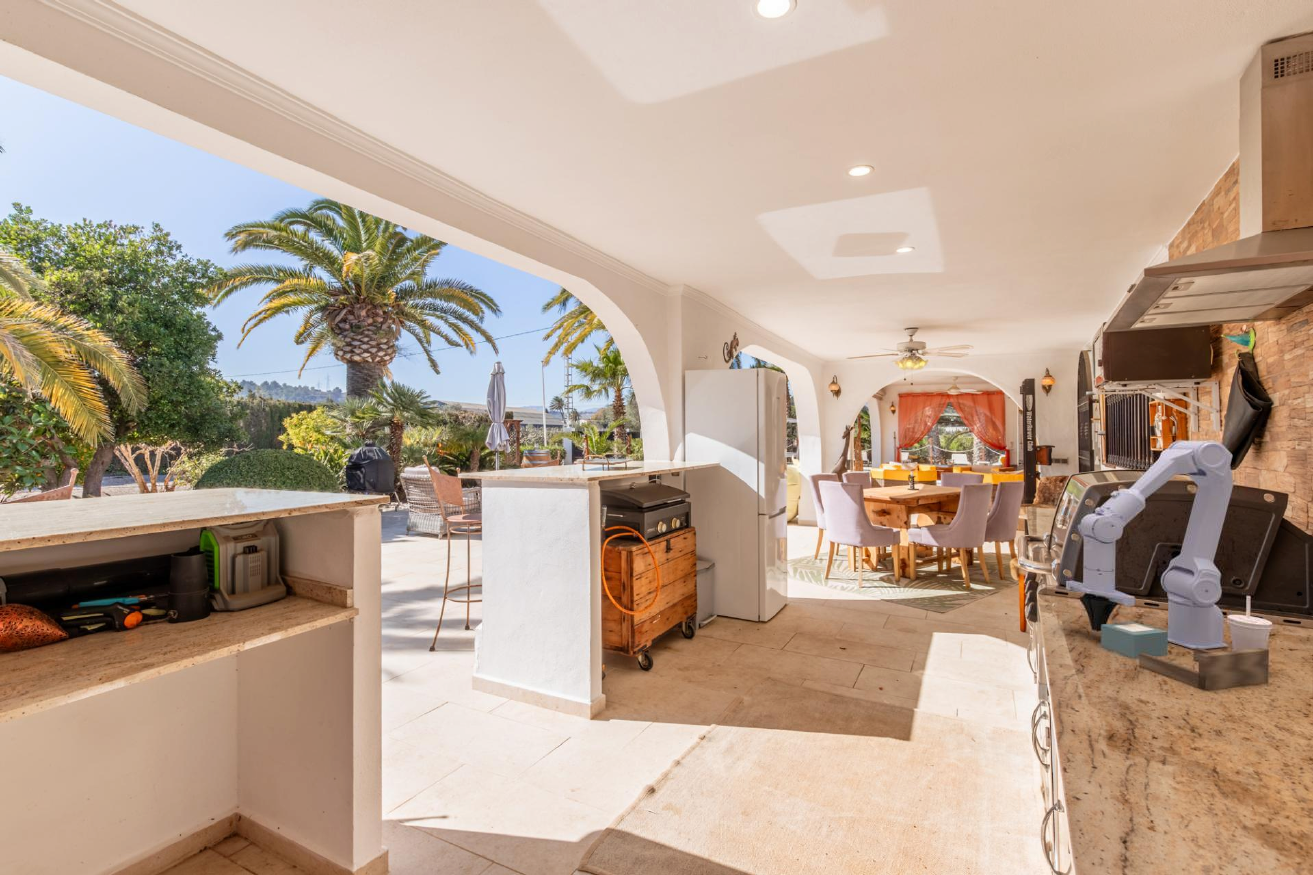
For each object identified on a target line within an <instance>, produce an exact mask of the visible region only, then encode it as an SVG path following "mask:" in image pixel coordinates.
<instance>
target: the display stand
mask: <svg viewBox="0 0 1313 875" xmlns="http://www.w3.org/2000/svg"><path fill="white" fill-rule="evenodd" d="M1192 657H1193V659H1192V660H1193V661H1194V660H1195V661H1194V662H1197V663H1198V670H1195V669H1191V668H1190V667H1189V668H1188V667H1187V666H1183V665H1180V664H1178V663H1174V662H1173V661H1172V662H1171V661H1169V660H1166V659H1162V658H1160V657H1158V656H1155V657H1154V656H1151V655H1148V654H1145V653H1139V658H1138V667H1140V668H1143V669H1145V670H1148V671H1151V672H1153V671H1154V673H1156V674H1159V675H1162V676H1165V677H1168V678H1170V679H1172V680H1176V681H1179V682H1182V683H1184V684H1187V685H1190V686H1192V687H1194V688H1198V689H1200V690H1203V691H1213V690H1220V689H1221V690H1222V689H1229V688H1237V687H1245V686H1253V685H1260V684H1268V683H1269V671H1270V670H1269V667H1270V666H1269V663H1270V662H1269V661H1270V650H1269V649H1267V648H1266V649H1264V648H1254V649H1245V650H1235V651H1233V650H1227V651H1217V652H1214V651H1210V650H1208V649H1202V648H1198V647H1197V648H1194V649H1193V656H1192Z"/></svg>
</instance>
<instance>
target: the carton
mask: <svg viewBox="0 0 1313 875" xmlns="http://www.w3.org/2000/svg"><path fill="white" fill-rule="evenodd" d="M1168 642H1169V641H1168V630H1163V629H1159V628H1157V627H1153V626H1149V625H1146V624H1143V623H1138V622H1135V621H1127V622H1115V623H1107V624H1103V625H1101V631H1100V648H1102V649H1106V650H1108V649H1109V650H1108V651H1110V652H1114V653H1116V652H1117V653H1116V654H1119V655H1122V656H1124V657H1128V658H1130V659H1133V660H1136V659H1137V660H1139V653H1145V654H1148V655H1151V656H1155V657H1163V656H1162V655H1164V656H1168Z"/></svg>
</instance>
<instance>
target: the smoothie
mask: <svg viewBox="0 0 1313 875" xmlns="http://www.w3.org/2000/svg"><path fill="white" fill-rule="evenodd" d="M1245 604H1246V605H1245V606H1246V609H1245V610H1246V611H1245V615H1243V614H1242V615H1241V614H1229V615H1227V619H1226V622H1228V623H1229V624H1228V625H1229V631H1230V638H1231V645H1232V651H1235V650H1245V649H1254V648H1264V649H1267V647H1268V642H1269V637H1270V631H1271V630H1272V629H1273V628H1274V627H1273V622H1272V621H1270V620H1268V619H1265V618H1261V617H1256V616H1251V596H1250V595H1246V602H1245Z"/></svg>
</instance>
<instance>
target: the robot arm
mask: <svg viewBox="0 0 1313 875" xmlns="http://www.w3.org/2000/svg"><path fill="white" fill-rule="evenodd" d="M1232 459H1233V454H1232V453H1231V452H1230V451H1229V450H1228V449H1227V447H1226V446H1225V445H1223V444H1222V443H1221V442H1218V441H1216V440H1205V441H1200V440H1199V441H1198V440H1195V441H1194V440H1185V439H1183V440H1176V441H1174V442H1172V443H1171V444H1170V445H1169V446H1168V448H1166V449H1164V450H1163V451H1162V452H1160V455H1159V458H1158V459H1157V460H1156V461H1155V462H1154V463H1153V464H1152V465H1151V466H1150V467H1149V468H1148V469H1147V470H1146V471H1145V473H1144V474H1143V475H1142V476H1141V477H1140V478H1138V480H1136V482H1135V483H1133V485H1132V486H1131V487H1129V488H1121V489H1119V490H1113V492H1111V493H1110V496H1111V497H1110V498H1109V499H1108V500H1107V501H1106V502H1104V503H1103V504H1102V505H1101V506H1100V507H1099V506H1098V507H1097V508H1095V509H1094V513H1090V514H1086V515H1085V516H1084V517H1083V518H1081V521H1080V523H1079V524H1078V525H1077V529H1078V532H1079V533H1080V535H1082V537H1083V563H1082V564H1083V565H1082V566H1083V570H1082V571H1083V572H1082V573H1083V577H1082V578H1083V579H1082V582H1079V581H1075V580H1066V581H1065V590H1067V591H1073V592H1077V593H1081V594H1084V595H1082V596H1079V600H1080V602H1081V604H1082V605H1083V608H1084V609H1085V611H1086V613H1087V614H1086V615H1087V617H1088V619H1089V623H1090V627H1091V630H1093V631H1095V632H1101V625H1103V624H1108V621H1109V618H1110V616H1111V614H1112V613H1113V611H1114V609H1116V608H1117V606H1118V604H1122V605H1123V606H1125V607H1133V606H1134V607H1135V605H1136V604H1135V603H1136V597H1135V596H1133V595H1130V594H1127V593H1124V592H1122V591H1120V590H1117V589H1116V541H1117V540H1119V539H1121V537H1122V536H1123V532H1124V527H1126V525H1127V524H1128V523H1129V522H1131V521H1132V520H1133V519H1134V518H1135V517H1136V516H1137V515H1138V514H1139V513H1140V512H1142V511H1143V510H1144V509H1145V508H1146V499H1147V498H1148V497H1150V495H1152V494H1154V493H1155V492H1156V491H1157V490H1158V489H1159V488H1161V487H1162V486H1164V485H1165V484H1166V483H1167V482H1169V481H1170V480H1171V479H1173V478H1174V477H1175V476H1177V475H1184V474H1185V475H1187V476H1189V477H1190V479H1191V480H1192V481H1193V482H1194V483H1195V484H1196V485H1197V489H1196V493H1195V496H1194V500H1193V504H1192V507H1191V513H1190V516H1189V520H1188V523H1187V526H1186V531H1185V534H1184V539H1183V542H1182V547H1181V549H1180V554H1178V555H1177V556H1175V557H1174V558H1172V559H1171V560H1170V562H1169V565H1168V567H1167V568H1166V570H1165V571H1163V573H1162V575H1161V577H1160V584H1161V587H1162V589H1163V590H1164V591H1165V592H1166V593H1167V598H1168V601H1167V602H1168V603H1167V604H1168V608H1167V609H1168V610H1167V632H1168V642H1169V643H1172V644H1176V645H1178V646H1182V647H1185V648H1189V649H1191V650H1194V648H1197V647H1198V648H1202V649H1205V650H1208V649H1217V648H1219V649H1220V648H1227V647H1229V644H1227V643H1224V614H1223V612H1222V610H1221V609H1220V608H1219V606H1218V605H1216V604H1215V603H1217V602H1219V600H1220V599H1221V598H1222V592H1223V591H1222V586H1221V578H1222V574H1221V572H1220V570H1219V569H1218V568H1217V566H1216V565H1215V563H1214V560H1215V556H1216V553H1217V549H1218V545H1219V541H1220V537H1221V533H1222V530H1223V525H1224V523H1225V518H1226V515H1227V514H1226V513H1227V510H1228V506H1229V503H1230V499H1231V495H1232V491H1233V487H1234V483H1235V482H1234V478H1233V472H1232V470H1231V463H1232Z"/></svg>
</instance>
